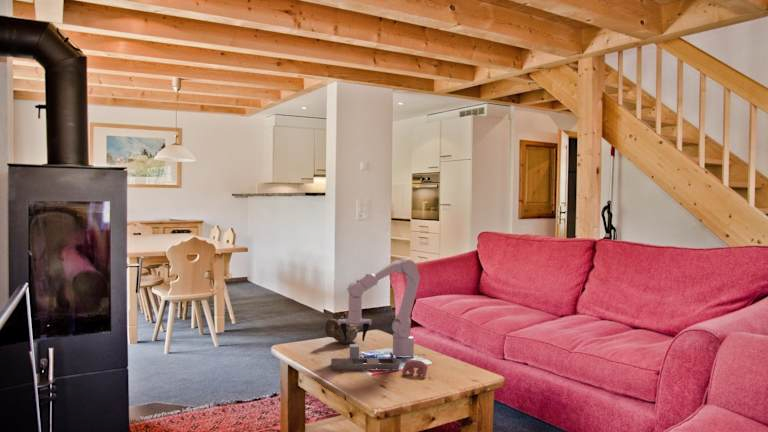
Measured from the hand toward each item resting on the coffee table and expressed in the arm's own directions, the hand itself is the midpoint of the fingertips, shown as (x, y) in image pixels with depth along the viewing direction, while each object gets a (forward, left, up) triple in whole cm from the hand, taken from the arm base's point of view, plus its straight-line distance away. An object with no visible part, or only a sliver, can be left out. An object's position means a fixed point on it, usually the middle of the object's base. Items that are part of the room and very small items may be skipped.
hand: (354, 340), depth 244 cm
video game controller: (-24, +21, -8) cm, 33 cm away
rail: (-4, +11, -8) cm, 14 cm away
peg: (0, 0, -8) cm, 8 cm away
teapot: (+4, -24, -8) cm, 26 cm away
